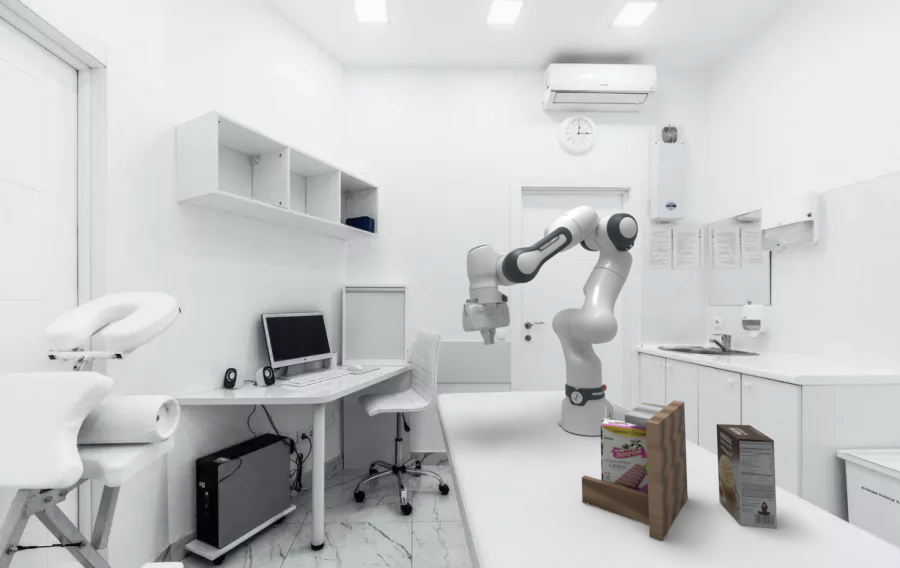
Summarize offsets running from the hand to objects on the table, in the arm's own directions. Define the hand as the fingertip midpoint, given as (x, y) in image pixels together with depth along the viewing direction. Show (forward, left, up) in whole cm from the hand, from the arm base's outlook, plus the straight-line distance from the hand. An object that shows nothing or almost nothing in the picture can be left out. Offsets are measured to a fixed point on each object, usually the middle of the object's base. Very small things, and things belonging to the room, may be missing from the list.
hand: (489, 344), depth 120 cm
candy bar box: (+11, +43, -29) cm, 53 cm away
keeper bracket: (+11, +42, -29) cm, 52 cm away
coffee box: (+1, +61, -29) cm, 68 cm away
